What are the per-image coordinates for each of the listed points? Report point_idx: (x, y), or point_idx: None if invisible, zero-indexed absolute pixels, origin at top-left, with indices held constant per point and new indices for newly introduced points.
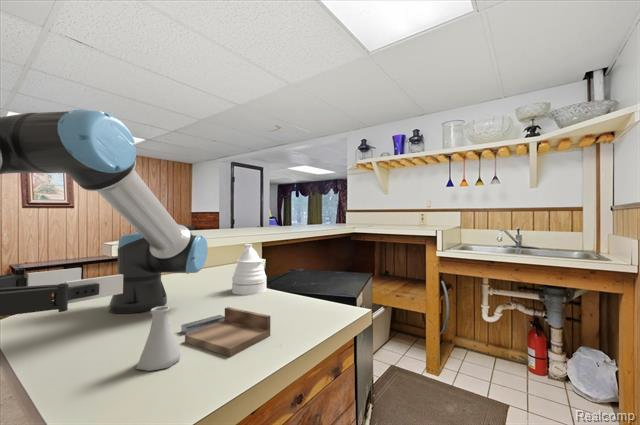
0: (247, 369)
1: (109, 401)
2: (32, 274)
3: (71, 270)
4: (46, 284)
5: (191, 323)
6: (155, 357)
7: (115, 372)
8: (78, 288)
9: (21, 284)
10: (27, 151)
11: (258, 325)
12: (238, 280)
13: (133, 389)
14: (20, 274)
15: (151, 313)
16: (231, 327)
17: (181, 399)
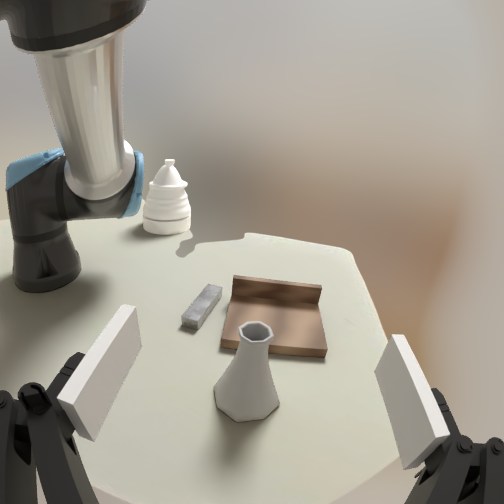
0: (369, 368)
1: (294, 482)
2: (79, 399)
3: (125, 326)
4: (106, 397)
5: (193, 310)
6: (266, 401)
7: (210, 436)
8: (453, 426)
9: (65, 431)
10: None
11: (302, 299)
12: (160, 215)
13: (292, 454)
14: (45, 409)
15: (252, 346)
16: (264, 308)
17: (371, 435)
